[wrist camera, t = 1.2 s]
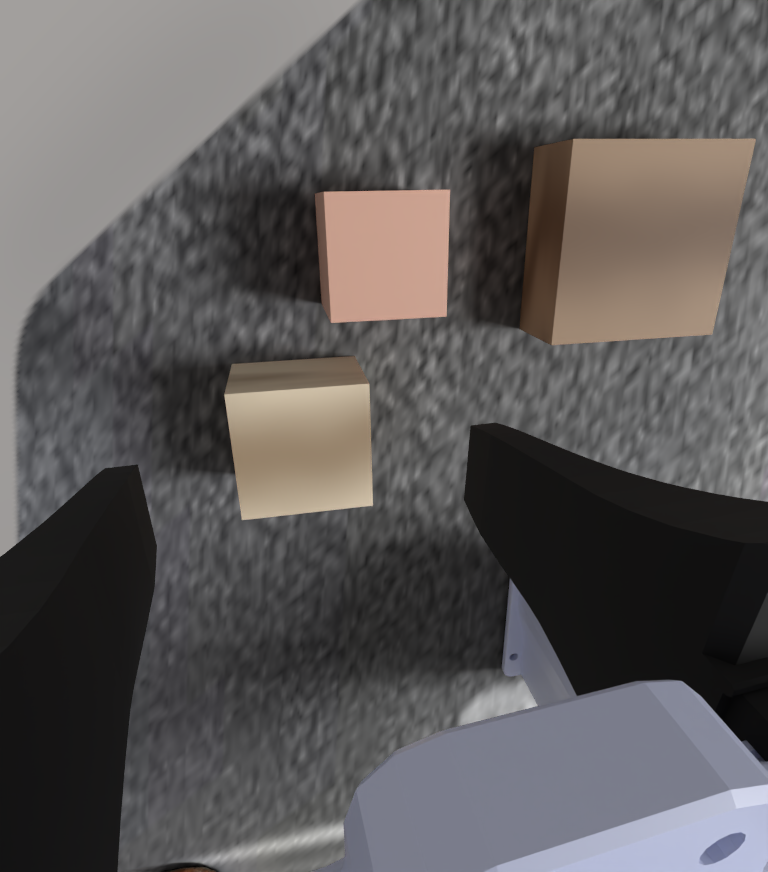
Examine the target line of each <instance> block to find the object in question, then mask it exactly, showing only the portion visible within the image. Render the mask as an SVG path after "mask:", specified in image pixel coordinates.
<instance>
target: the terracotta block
mask: <svg viewBox="0 0 768 872" xmlns="http://www.w3.org/2000/svg"><path fill="white" fill-rule="evenodd" d="M315 205H316V221H317V237H318V253H319V269H320V285H321V301H322V305H323V307H324V309H325V311H326V313H327V315H328V317H329V319H330V322H331V323H338V322H356V321H374V320H392V319H410V318H428V317H446V316H447V280H448V244H449V209H450V190H400V191H337V192H320V193H316V194H315Z"/></svg>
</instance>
